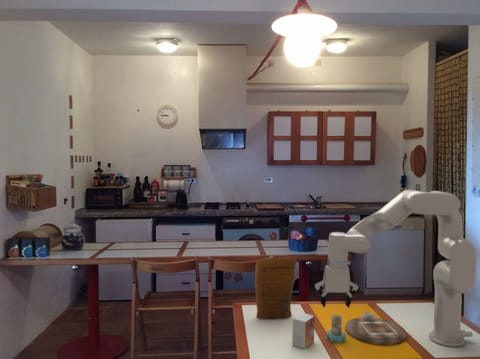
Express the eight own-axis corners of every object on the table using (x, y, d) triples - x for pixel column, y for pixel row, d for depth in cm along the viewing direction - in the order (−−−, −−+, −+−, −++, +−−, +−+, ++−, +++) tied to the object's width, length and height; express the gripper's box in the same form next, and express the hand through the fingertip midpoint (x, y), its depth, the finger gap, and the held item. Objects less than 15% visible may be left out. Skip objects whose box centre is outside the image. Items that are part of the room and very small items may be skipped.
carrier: (391, 320, 181) (391, 310, 181) (416, 344, 157) (417, 333, 157) (338, 320, 180) (338, 310, 180) (355, 345, 156) (356, 334, 156)
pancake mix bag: (297, 319, 181) (298, 257, 180) (255, 321, 179) (256, 258, 177) (293, 313, 188) (294, 254, 187) (252, 315, 185) (253, 255, 184)
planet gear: (342, 334, 166) (343, 312, 166) (348, 343, 158) (349, 320, 158) (324, 334, 166) (324, 313, 165) (329, 343, 158) (329, 320, 158)
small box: (304, 349, 153) (305, 322, 152) (291, 345, 156) (292, 318, 156) (314, 342, 159) (315, 315, 159) (301, 338, 163) (302, 312, 162)
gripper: (355, 261, 165) (353, 303, 166) (313, 260, 164) (311, 302, 165) (362, 266, 157) (360, 309, 158) (318, 265, 157) (316, 309, 157)
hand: (335, 305), depth 162 cm, fingers open, 9 cm apart
